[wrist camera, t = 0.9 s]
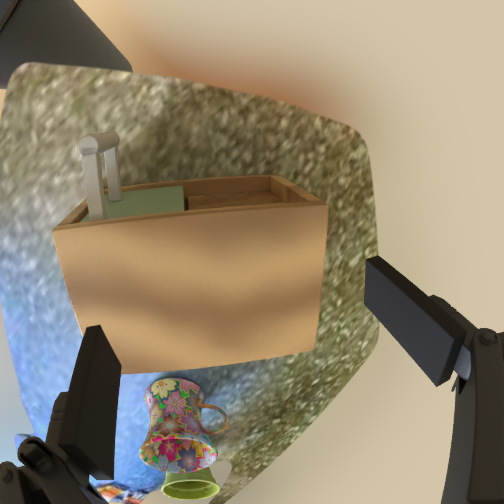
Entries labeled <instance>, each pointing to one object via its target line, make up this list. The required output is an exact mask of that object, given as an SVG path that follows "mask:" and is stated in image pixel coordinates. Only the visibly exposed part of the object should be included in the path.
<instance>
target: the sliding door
mask: <svg viewBox="0 0 504 504" xmlns="http://www.w3.org/2000/svg"><path fill="white" fill-rule="evenodd" d="M119 140H120V138H119V135H118V134H117V133H116V132H106V133H99V134H93V135H87V136H84V137H83V138H82V139H81V140H80V141H79V144H78V151H79V153H80V155H81V156H82V165H83V174H84V182H85V190H86V197H87V204H88V210H89V213H88V214H87V215H86V216H85V217H84V218H83V219H82V220H81V221H80V222H79V223H81V222H89V221H97V220H105V219H113V218H121V217H130V216H139V215H148V214H158V213H167V212H178V211H184V190H183V185H182V186H171V187H161V188H152V189H142V190H134V191H125V192H122V187H121V178H120V167H119V156H118V144H119ZM102 152H104V155H105V166H106V175H107V184H108V192H109V194H106V195H105V196H104V188H103V180H102V171H101V161H100V153H102Z"/></svg>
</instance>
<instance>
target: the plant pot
mask: <svg viewBox="0 0 504 504" xmlns="http://www.w3.org/2000/svg"><path fill="white" fill-rule="evenodd" d="M219 491H220V486H219V484H217V483H216V481H215V479H214V478H213V476H212V474H211V471H210V468H209V466H208V467H206V468H204V469H201V470H198V471H194V472H187V473H172V472H166V479H165V481H164V485H163V486H162V493H164V494H165V495H166V496H168V497H171V498H175V499H180V500H198V499H204V498H208V497H211V496H213V495H215V494H217V493H218V492H219Z"/></svg>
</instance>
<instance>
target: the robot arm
mask: <svg viewBox="0 0 504 504" xmlns="http://www.w3.org/2000/svg"><path fill="white" fill-rule="evenodd" d="M364 304H365V306H366V307H367V308H368V309H369V310H370V311H371V312H372V313H373V314H374V315H375V317H376V318H377V319H378V320H379V321H380V322H381V323H382V324H383V325H384V327H385V328H386V329H387V330H388V331H389V332H390V333H391V335H392V336H393V337H394V338H395V339H396V340H397V341H398V342H399V344H400V345H401V346H402V347H403V348H404V349H405V350H406V352H407V353H408V354H409V355H410V356H411V357H412V359H413V360H414V361H415V362H416V363H417V364H418V366H419V367H420V368H421V369H422V370H423V371H424V373H425V374H426V375H427V376H428V377H429V378H430V379H431V381H432V382H433V383H434V385H435V386H436V387H437V386H439V385H441V384H443V383H444V382H446V381H448V380H449V379H450V377H451V375H452V373H453V370H454V371H455V372H456V373H457V374H458V376H457V378H456V380H455V382H454V385H453V387H452V390H451V391H452V392H453V391H454V389H455V387H456V396H455V413H454V424H453V434H452V442H451V450H450V457H449V464H448V470H447V475H446V481H445V486H444V491H443V496H442V500H441V504H504V332H501V333H496V332H495V331H493V330H491V329H488V328H480V329H477V328H476V327H475V326H474V325H473V324H472V323H471V322H469V321H468V320H467V319H466V318H465V317H464V316H463V315H461V314H460V313H459V312H457V310H456V309H454V308H453V307H451V305H450V304H448V303H447V302H446V301H445V300H444V299H442V298H440V297H437V296H435V295H432V296H429V297H428V296H427V295H426V294H425V293H424V292H422V291H421V290H420V289H419V288H418V287H417V286H415V285H414V284H413V283H412V282H411V281H409V280H408V279H407V278H406V277H405V276H403V275H402V274H401V273H399V272H398V271H397V270H396V269H395V268H393V267H392V266H391V265H390V264H388V263H387V262H386V261H385V260H384V259H382V258H381V257H380V256H375V257H372V258H368V259H366V273H365V294H364ZM121 369H122V365H121V363H120V361H119V360H118V358H117V356H116V354H115V352H114V350H113V348H112V347H111V345H110V343H109V341H108V339H107V337H106V335H105V333H104V331H103V329H102V327H101V325H95V326H90V327H86V330H85V333H84V336H83V340H82V343H81V346H80V350H79V353H78V357H77V360H76V364H75V367H74V371H73V375H72V379H71V383H70V387H69V391H68V392H61V393H60V394H59V396H58V397H57V399H56V400H55V402H54V406H53V410H52V412H53V413H52V414H51V418H50V420H51V421H50V423H49V427H48V432H47V436H46V441H45V443H44V442H43V441H42V440H41V439H40V438H38V437H35V436H34V437H29V438H27V439H25V440H24V441H23V442H22V443H21V444H20V446H19V448H18V454H17V455H18V459H19V461H20V462H22V463H23V464H24V465H25V466H21V467H17V466H15V465H14V464H13V463H12V462H8V461H6V462H3V463H1V464H0V504H109V503H108V502H107V501H106V500H105V499H104V498H103V497H102V495H101V494H100V493H99V492H98V491H97V489H96V488H95V487H94V486H93V485H92V484H91V483H90V482H89V474H90V475H91V476H93V477H94V478H95V479H96V480H114V454H115V434H116V420H117V407H118V396H119V387H120V378H121Z"/></svg>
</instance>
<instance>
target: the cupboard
mask: <svg viewBox="0 0 504 504" xmlns="http://www.w3.org/2000/svg"><path fill="white" fill-rule="evenodd" d="M182 185H183V190H184V211H178V212H167V213H158V214H148V215H139V216H130V217H121V218H113V219H105V220H97V221H89V222H81V223H79V222H80V221H81V220H82V219H83V218H84V217H85V216H86V215H87V214H88V213H89V210H88V204H87V198H86V199H85V200H84V201H83V202H82V203H81V204H80V205H79V206H78V207H76V208H75V209H74V210H73V211H72V212H71V213H70V214H69V215H68V216H67V217H66V218H65V219H64V220H63V221H62V222H60V223H59V224H58V226H56V227H55V228H54V229H53V230H52V233H53V237H54V242H55V246H56V250H57V254H58V258H59V262H60V266H61V270H62V274H63V277H64V281H65V284H66V288H67V291H68V294H69V298H70V301H71V304H72V307H73V310H74V313H75V316H76V319H77V322H78V325H79V328H80V331H81V333H82V336H84V333H85V330H86V327H90V326H95V325H101V327H102V329H103V331H104V333H105V335H106V337H107V339H108V341H109V343H110V345H111V347H112V348H113V350H114V352H115V354H116V356H117V358H118V360H119V361H120V363H121V365H122V369H121V374H137V373H152V372H165V371H176V370H187V369H196V368H205V367H213V366H221V365H229V364H236V363H243V362H249V361H256V360H262V359H268V358H274V357H280V356H285V355H291V354H296V353H301V352H306V351H311V350H314V349H315V343H316V335H317V328H318V320H319V311H320V303H321V294H322V284H323V274H324V264H325V253H326V240H327V227H328V213H329V205H328V204H327V203H325V202H323V201H322V200H320V199H319V198H317V197H316V196H314V195H312V194H311V193H309V192H307V191H306V190H304V189H302V188H301V187H299V186H297V185H295V184H294V183H292V182H290V181H289V180H287V179H285V178H283V177H282V176H280V175H278V174H262V175H242V176H225V177H211V178H198V179H186V180H175V181H164V182H155V183H145V184H137V185H128V186H121V187H122V192H125V191H134V190H142V189H152V188H161V187H171V186H182ZM106 194H109V192H108V188H105V189H104V196H105V195H106Z"/></svg>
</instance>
